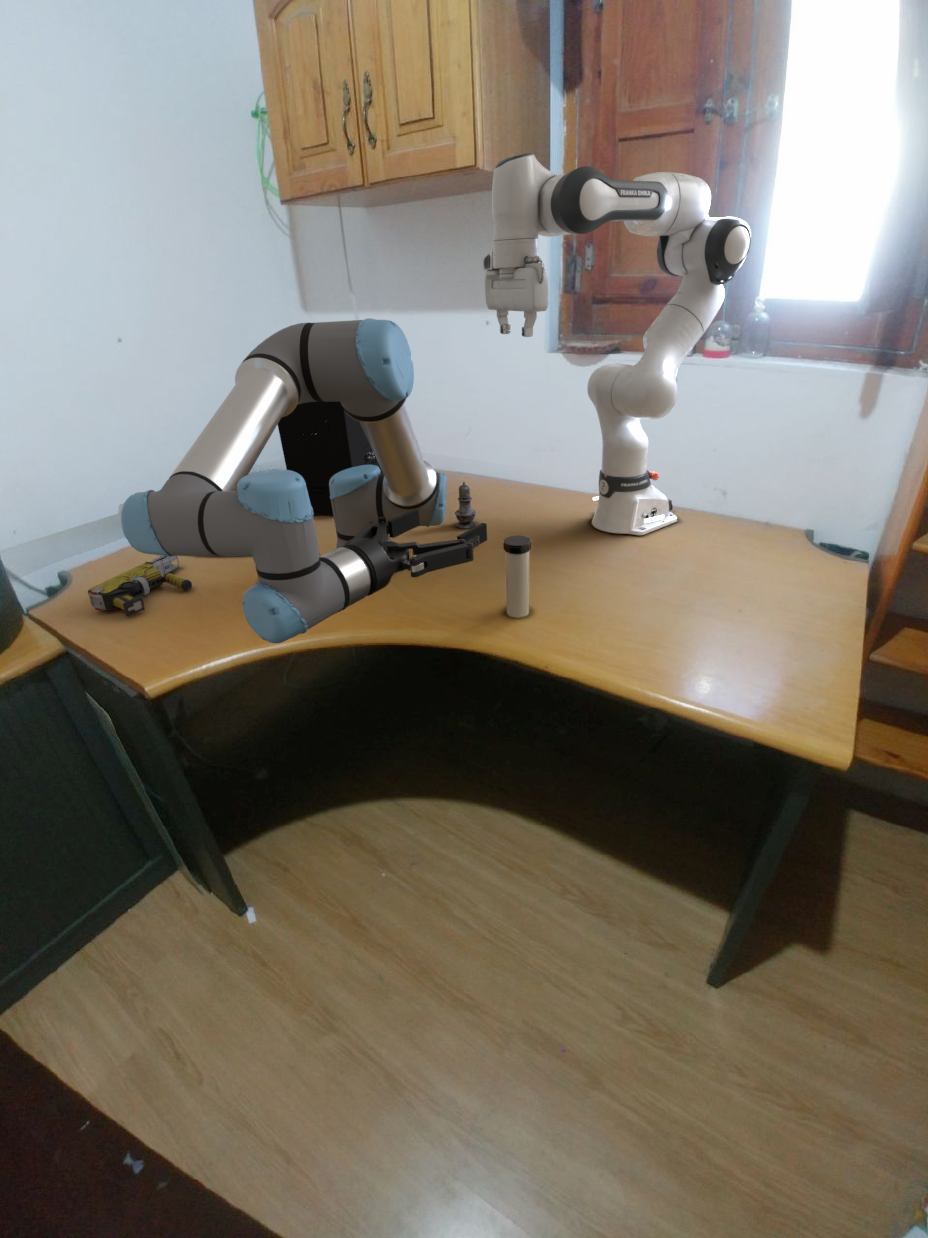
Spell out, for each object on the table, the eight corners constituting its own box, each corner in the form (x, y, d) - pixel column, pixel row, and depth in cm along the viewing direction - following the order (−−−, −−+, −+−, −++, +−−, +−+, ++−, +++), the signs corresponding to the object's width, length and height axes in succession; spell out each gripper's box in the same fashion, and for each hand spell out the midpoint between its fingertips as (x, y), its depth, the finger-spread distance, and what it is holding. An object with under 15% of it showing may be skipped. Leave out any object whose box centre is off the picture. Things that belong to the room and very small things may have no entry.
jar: (532, 609, 122) (533, 540, 115) (522, 619, 119) (522, 548, 111) (512, 604, 124) (512, 536, 117) (502, 614, 121) (500, 544, 113)
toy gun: (216, 561, 144) (165, 550, 148) (137, 604, 124) (81, 590, 128) (219, 578, 146) (168, 567, 150) (142, 623, 126) (86, 609, 130)
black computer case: (359, 516, 174) (334, 346, 152) (295, 513, 179) (262, 349, 156) (400, 477, 206) (384, 331, 183) (345, 476, 210) (323, 334, 188)
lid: (535, 545, 115) (535, 537, 114) (523, 556, 111) (523, 547, 111) (511, 541, 118) (511, 533, 117) (498, 551, 114) (498, 542, 113)
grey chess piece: (474, 529, 161) (472, 485, 155) (453, 528, 162) (450, 485, 156) (478, 521, 166) (476, 478, 160) (457, 520, 167) (455, 478, 161)
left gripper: (298, 578, 90) (394, 532, 104) (426, 620, 76) (516, 561, 91) (288, 530, 86) (389, 490, 101) (421, 565, 72) (516, 513, 87)
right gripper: (557, 254, 111) (556, 336, 118) (505, 258, 127) (506, 331, 134) (528, 255, 109) (527, 339, 116) (478, 260, 125) (481, 333, 132)
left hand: (450, 523), depth 96 cm, fingers open, 13 cm apart
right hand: (516, 335), depth 125 cm, fingers open, 8 cm apart
